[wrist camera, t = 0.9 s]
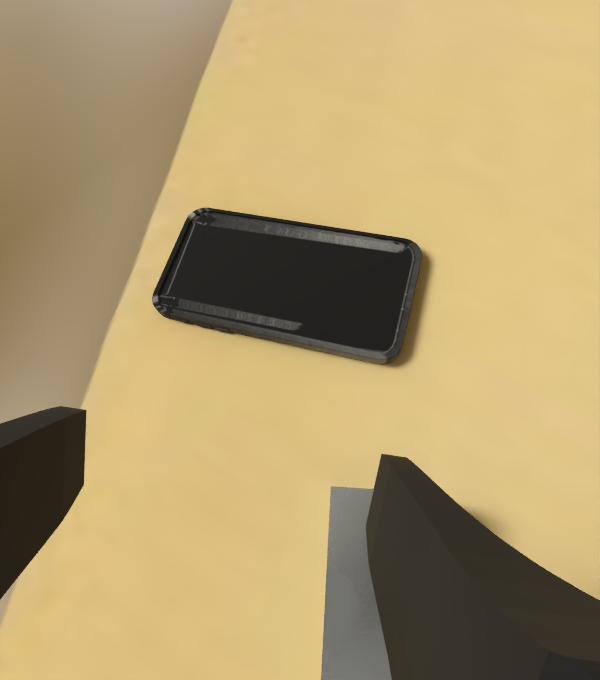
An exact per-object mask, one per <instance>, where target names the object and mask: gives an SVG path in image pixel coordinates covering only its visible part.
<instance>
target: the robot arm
mask: <svg viewBox="0 0 600 680" xmlns="http://www.w3.org/2000/svg"><path fill="white" fill-rule="evenodd" d="M85 432H86V410H82V409H75V408H69V407H62V406H60V407H55V408H50V409H46V410H43V411H39V412H36V413H33V414H29V415H26V416H23V417H20V418H17V419H14V420H11V421H8V422H5V423H1V424H0V599H1V598H2V596H3V595H4V594H5V593H6V591H7V590H8V589H9V588H10V586H11V585H12V584H13V583H14V581H15V580H16V579H17V578H18V576H19V575H20V574H21V573H22V571H23V570H24V569H25V568H26V566H27V565H28V564H29V563H30V561H31V560H32V559H33V558H34V556H35V555H36V554H37V553H38V551H39V550H40V549H41V548H42V546H43V545H44V544H45V543H46V541H47V540H48V539H49V537H50V536H51V535H52V534H53V532H54V531H55V530H56V529H57V527H58V526H59V525H60V523H61V522H62V521H63V519H64V517H65V516H66V514H67V513H68V511H69V509H70V508H71V506H72V504H73V503H74V501H75V499H76V497H77V496H78V494H79V492H80V490H81V489H82V487H83V485H84V462H85ZM366 538H367V552H368V563H369V569H370V574H371V579H372V584H373V589H374V593H375V598H376V603H377V608H378V612H379V617H380V622H381V627H382V631H383V636H384V641H385V645H386V650H387V655H388V660H389V666H390V672H391V678H392V680H600V600H598V599H596V598H594V597H592V596H590V595H588V594H587V593H585V592H583V591H581V590H579V589H578V588H576V587H574V586H573V585H571V584H569V583H568V582H566V581H564V580H562V579H561V578H559V577H557V576H556V575H554V574H552V573H551V572H549V571H547V570H546V569H544V568H543V567H541V566H539V565H538V564H536V563H535V562H533V561H532V560H530V559H529V558H527V557H526V556H524V555H523V554H522V553H520V552H519V551H517V550H516V549H514V548H513V547H512V546H510V545H509V544H507V543H506V542H504V541H503V540H502V539H500V538H499V537H498V536H496V535H495V534H494V533H492V532H491V531H490V530H489V529H487V528H486V527H485V526H484V525H482V524H481V523H480V522H479V521H478V520H476V519H475V518H474V517H473V516H471V515H470V514H469V513H468V512H467V511H466V510H464V509H463V508H462V507H461V506H460V505H459V504H457V503H456V502H455V501H454V500H453V499H452V498H451V497H450V496H449V495H447V494H446V493H445V492H444V491H443V490H442V489H441V488H440V487H439V486H438V485H437V484H436V483H435V482H433V481H432V480H431V479H430V478H429V477H428V476H427V475H426V474H425V473H424V472H423V471H422V470H421V469H420V468H418V467H417V466H416V465H415V464H414V463H413V462H412V461H410V460H409V459H408V458H406V457H399V456H393V455H386V454H382V455H381V459H380V464H379V468H378V473H377V477H376V482H375V486H374V491H373V495H372V500H371V504H370V508H369V513H368V517H367V522H366Z"/></svg>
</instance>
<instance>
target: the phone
mask: <svg viewBox="0 0 600 680" xmlns="http://www.w3.org/2000/svg"><path fill="white" fill-rule="evenodd" d="M420 262H421V250H420V248H419V246H418V245H417V244H416V243H414V242H413V241H411V240H408V239H405V238H399V237H392V236H386V235H379V234H373V233H367V232H360V231H354V230H347V229H341V228H334V227H328V226H322V225H315V224H309V223H302V222H296V221H289V220H283V219H277V218H270V217H264V216H257V215H251V214H244V213H238V212H232V211H225V210H219V209H212V208H201V209H197V210H195V211H193V212H192V213H191V214H190V215H189V216H188V218H187V219H186V221H185V223H184V226H183V228H182V230H181V232H180V235H179V237H178V239H177V241H176V243H175V246H174V248H173V250H172V252H171V255H170V257H169V259H168V261H167V264H166V266H165V268H164V270H163V273H162V275H161V277H160V279H159V282H158V284H157V286H156V288H155V291H154V293H153V297H152V301H153V305H154V307H155V308H156V309H157V310H158V312H159V313H160V314H161V315H163V316H164V317H166V318H169V319H173V320H178V321H181V322H185V323H192V324H196V325H198V326H203V327H207V328H214V329H216V330H219V331H224V332H233V333H237V334H242V335H246V336H251V337H256V338H260V339H265V340H269V341H274V342H278V343H283V344H288V345H292V346H297V347H301V348H306V349H310V350H315V351H320V352H324V353H329V354H333V355H338V356H342V357H347V358H352V359H356V360H361V361H365V362H370V363H374V364H386V363H390V362H392V361H393V360H395V359H396V358H397V357H398V356H399V354H400V352H401V349H402V345H403V340H404V336H405V331H406V327H407V322H408V317H409V313H410V308H411V304H412V299H413V295H414V290H415V286H416V281H417V277H418V272H419V267H420Z"/></svg>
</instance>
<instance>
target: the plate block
mask: <svg viewBox="0 0 600 680" xmlns="http://www.w3.org/2000/svg"><path fill="white" fill-rule="evenodd" d="M373 491H374V489H361V488H347V487H332V486H331V496H330V515H329V535H328V555H327V574H326V594H325V614H324V634H323V653H322V673H321V680H392V678H391V672H390V666H389V660H388V655H387V650H386V645H385V641H384V636H383V631H382V627H381V622H380V617H379V612H378V608H377V603H376V598H375V593H374V589H373V584H372V579H371V574H370V569H369V563H368V552H367V538H366V522H367V517H368V513H369V508H370V504H371V500H372V495H373ZM447 495H448V494H447Z"/></svg>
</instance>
